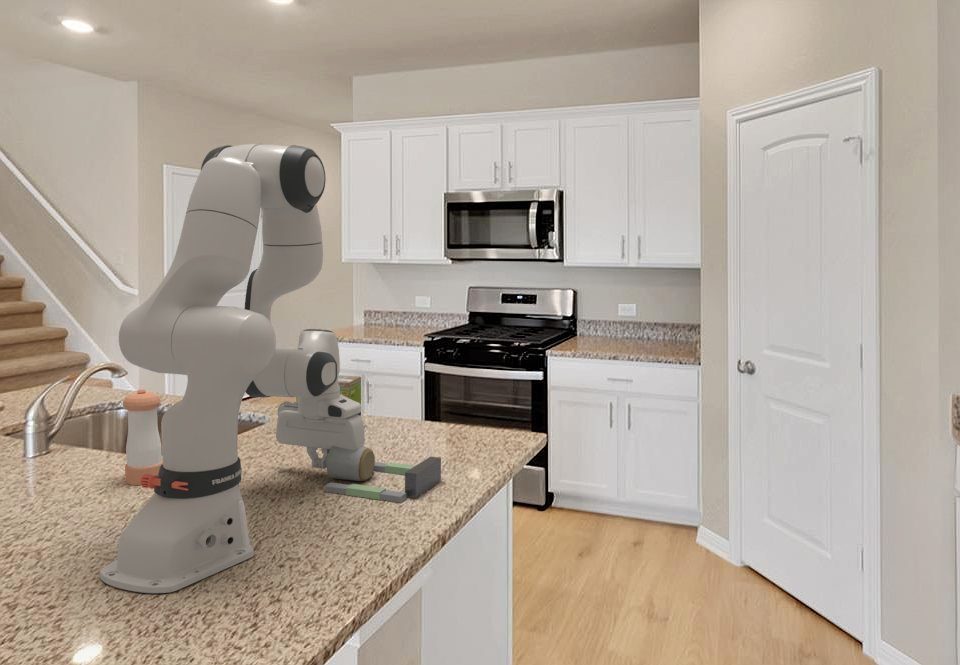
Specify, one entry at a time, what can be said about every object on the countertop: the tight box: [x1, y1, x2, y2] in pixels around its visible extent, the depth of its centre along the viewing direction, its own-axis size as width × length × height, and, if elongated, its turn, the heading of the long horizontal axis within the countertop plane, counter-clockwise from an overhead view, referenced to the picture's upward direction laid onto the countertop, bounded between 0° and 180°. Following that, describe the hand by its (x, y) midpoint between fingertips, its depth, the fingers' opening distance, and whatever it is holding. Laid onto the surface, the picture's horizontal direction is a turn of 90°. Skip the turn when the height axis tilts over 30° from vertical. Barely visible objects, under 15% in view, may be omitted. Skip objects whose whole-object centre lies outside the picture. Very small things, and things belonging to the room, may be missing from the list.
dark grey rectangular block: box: [404, 456, 442, 499], centre depth 142 cm, size 12×2×5 cm, turn 159°
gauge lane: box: [323, 461, 416, 504], centre depth 145 cm, size 19×17×2 cm
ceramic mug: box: [326, 445, 376, 482], centre depth 149 cm, size 11×8×8 cm
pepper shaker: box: [122, 388, 163, 486], centre depth 145 cm, size 7×7×19 cm
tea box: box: [295, 374, 362, 417], centre depth 188 cm, size 15×10×15 cm
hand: (319, 467), depth 150 cm, fingers closed
